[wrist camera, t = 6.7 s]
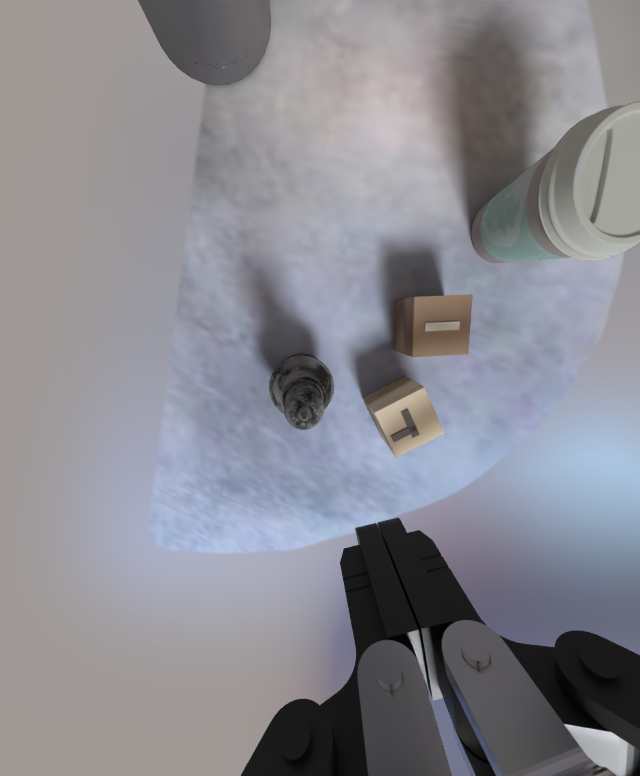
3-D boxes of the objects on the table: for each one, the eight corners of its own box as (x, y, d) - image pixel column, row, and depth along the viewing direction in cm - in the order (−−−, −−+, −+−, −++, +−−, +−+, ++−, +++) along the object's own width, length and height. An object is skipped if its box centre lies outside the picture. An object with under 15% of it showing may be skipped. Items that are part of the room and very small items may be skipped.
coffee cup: (494, 160, 28) (638, 49, 16) (559, 217, 30) (732, 154, 18) (439, 244, 29) (535, 198, 18) (504, 295, 31) (631, 283, 19)
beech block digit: (362, 398, 32) (374, 413, 27) (404, 376, 32) (425, 387, 27) (381, 436, 34) (396, 458, 29) (422, 416, 33) (444, 433, 28)
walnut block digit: (395, 299, 30) (414, 296, 25) (444, 297, 31) (473, 294, 26) (394, 350, 31) (412, 357, 26) (441, 348, 32) (468, 354, 27)
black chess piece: (262, 393, 31) (243, 439, 20) (287, 340, 30) (283, 357, 19) (314, 416, 32) (325, 473, 21) (339, 366, 31) (366, 397, 20)
